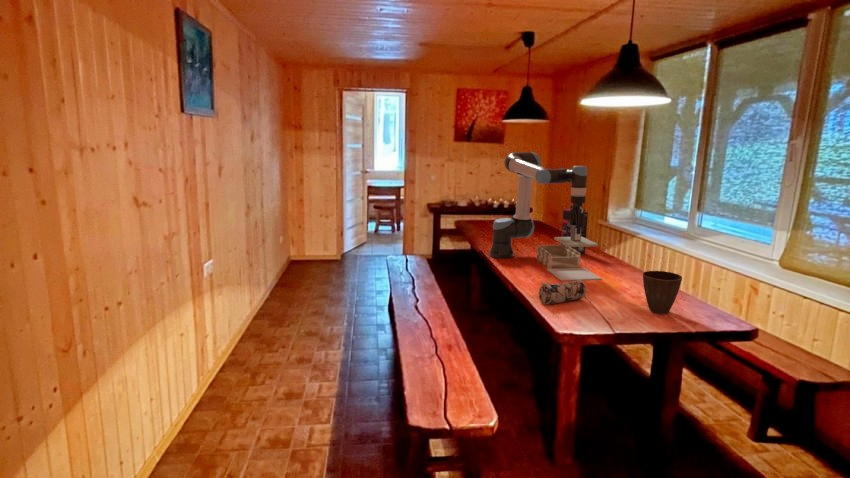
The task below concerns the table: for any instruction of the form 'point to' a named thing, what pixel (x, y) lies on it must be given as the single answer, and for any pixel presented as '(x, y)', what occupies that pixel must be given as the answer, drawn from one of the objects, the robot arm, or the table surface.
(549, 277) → the table surface
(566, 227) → the graphics card box
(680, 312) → the table surface
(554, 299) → the pencil case
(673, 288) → the plant pot
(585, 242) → the sliding lid
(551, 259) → the wooden box
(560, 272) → the grey tray
